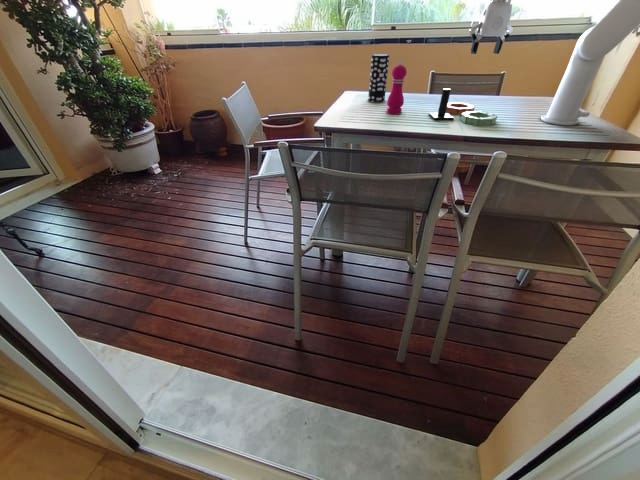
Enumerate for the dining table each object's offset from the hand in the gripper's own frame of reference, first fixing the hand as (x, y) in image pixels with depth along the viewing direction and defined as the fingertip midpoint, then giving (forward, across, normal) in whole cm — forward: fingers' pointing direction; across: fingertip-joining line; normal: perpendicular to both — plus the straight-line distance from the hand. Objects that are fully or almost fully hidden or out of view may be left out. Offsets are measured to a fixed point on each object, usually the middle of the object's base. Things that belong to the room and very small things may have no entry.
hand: (484, 53), depth 121 cm
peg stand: (+22, -17, -9) cm, 29 cm away
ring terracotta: (+22, -5, 0) cm, 23 cm away
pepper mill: (+23, -34, +1) cm, 41 cm away
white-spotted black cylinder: (+23, -36, +26) cm, 50 cm away
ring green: (+22, -4, -16) cm, 28 cm away
